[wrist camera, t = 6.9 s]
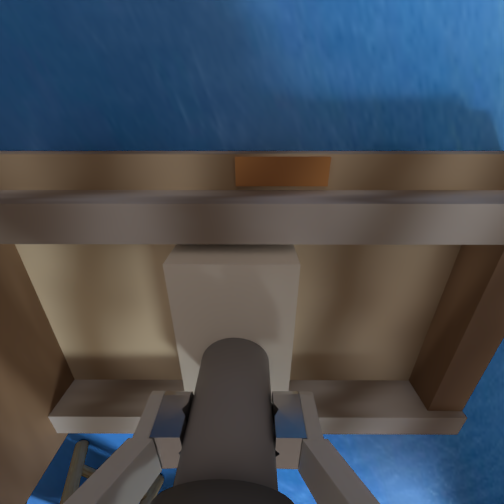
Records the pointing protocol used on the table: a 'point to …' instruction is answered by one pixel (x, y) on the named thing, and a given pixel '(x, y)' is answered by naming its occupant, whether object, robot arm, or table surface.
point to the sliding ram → (231, 366)
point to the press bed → (331, 283)
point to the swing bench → (81, 469)
